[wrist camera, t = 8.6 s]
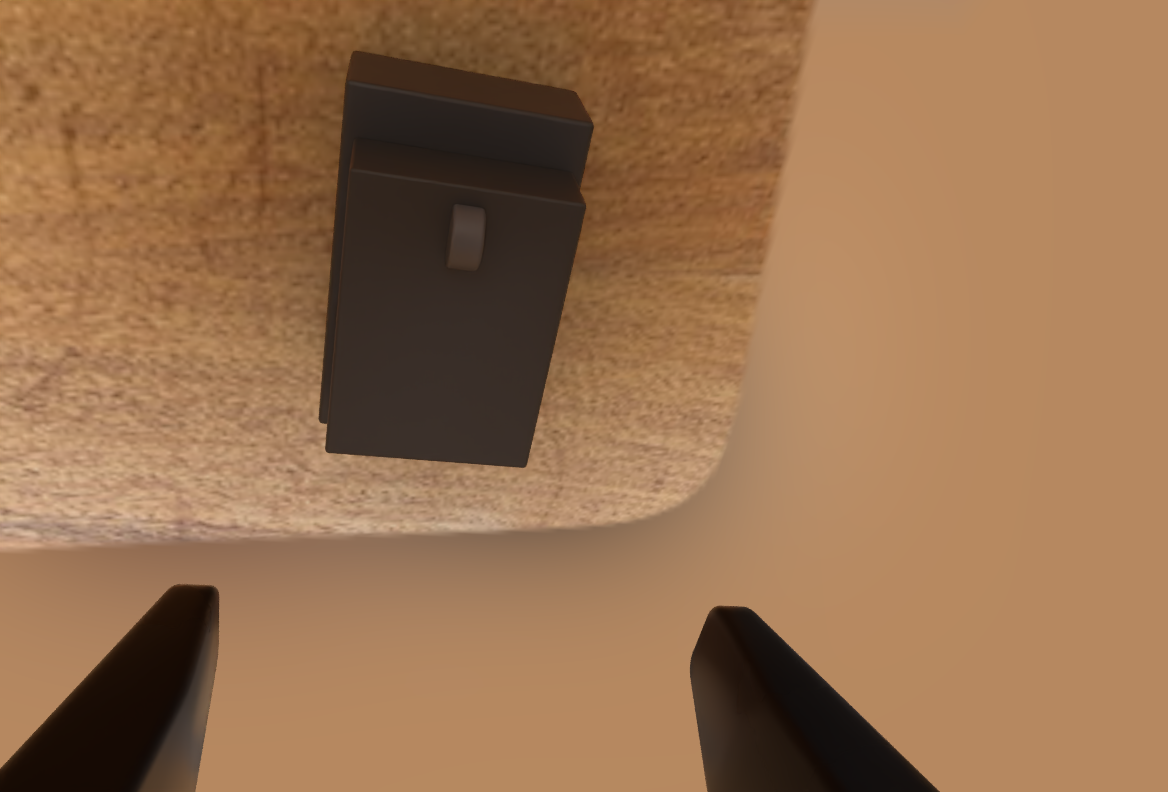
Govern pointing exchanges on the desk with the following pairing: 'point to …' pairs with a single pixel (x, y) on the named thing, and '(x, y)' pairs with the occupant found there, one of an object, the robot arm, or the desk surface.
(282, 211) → the desk surface
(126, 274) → the desk surface
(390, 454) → the stepped box with knob
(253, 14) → the desk surface
